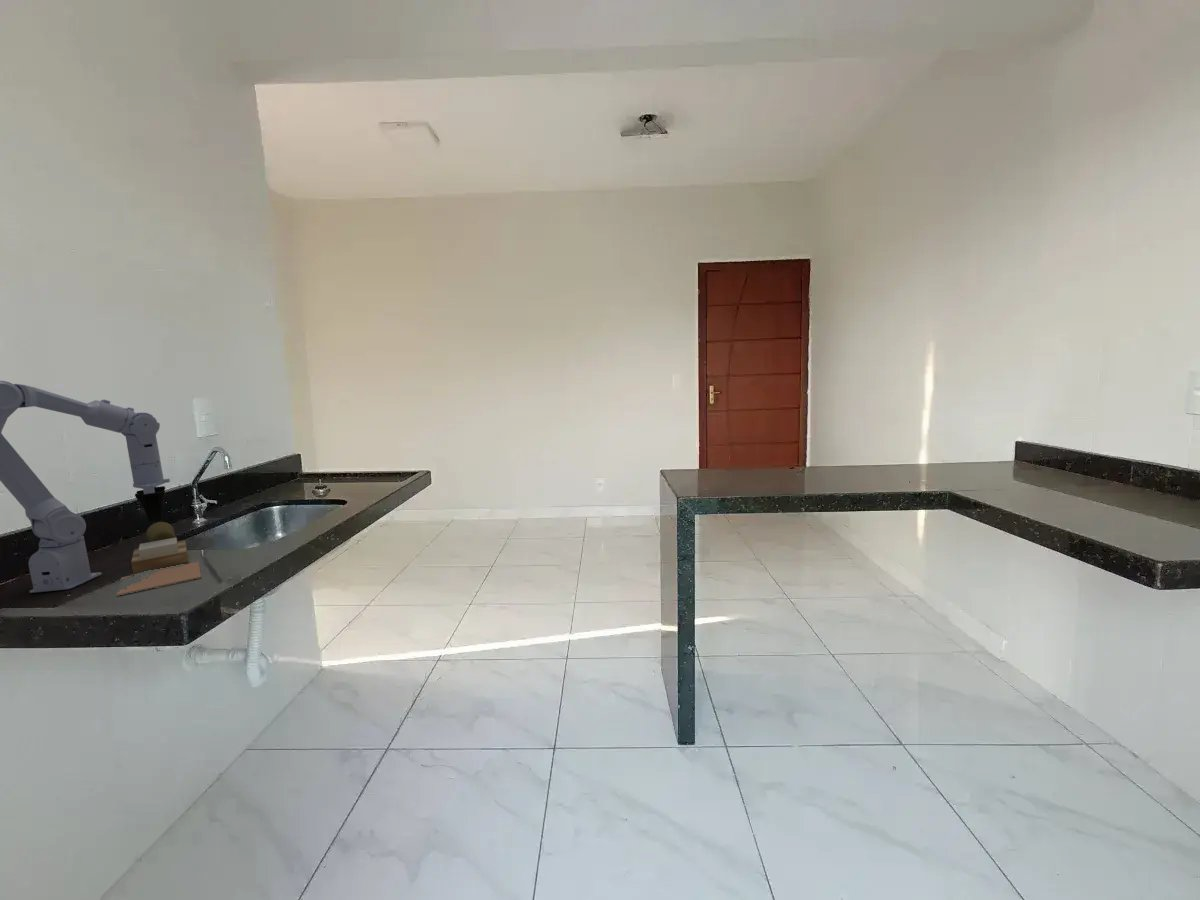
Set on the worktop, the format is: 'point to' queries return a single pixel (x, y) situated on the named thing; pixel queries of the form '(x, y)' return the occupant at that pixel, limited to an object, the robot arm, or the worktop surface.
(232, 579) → the worktop surface
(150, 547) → the coaster
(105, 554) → the worktop surface
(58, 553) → the robot arm
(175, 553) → the wooden bridge block
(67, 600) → the worktop surface
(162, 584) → the mat
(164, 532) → the olive green rounded cylinder
